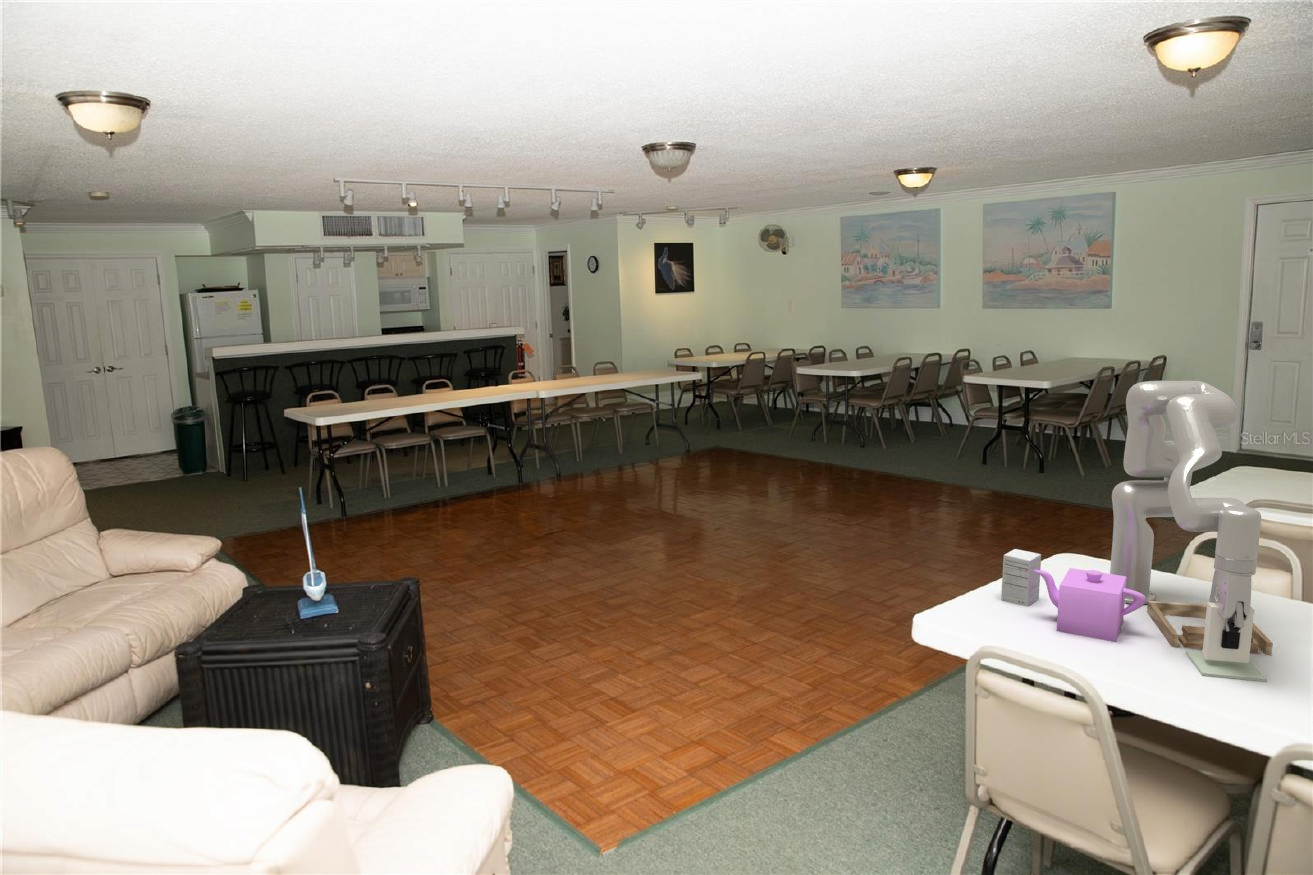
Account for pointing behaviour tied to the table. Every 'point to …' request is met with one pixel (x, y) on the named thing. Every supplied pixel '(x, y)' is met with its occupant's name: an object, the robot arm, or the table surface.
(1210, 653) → the cream rectangular block
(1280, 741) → the table surface
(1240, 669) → the mat
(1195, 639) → the offcut stack
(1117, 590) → the teapot
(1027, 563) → the supplement box
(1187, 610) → the frame
